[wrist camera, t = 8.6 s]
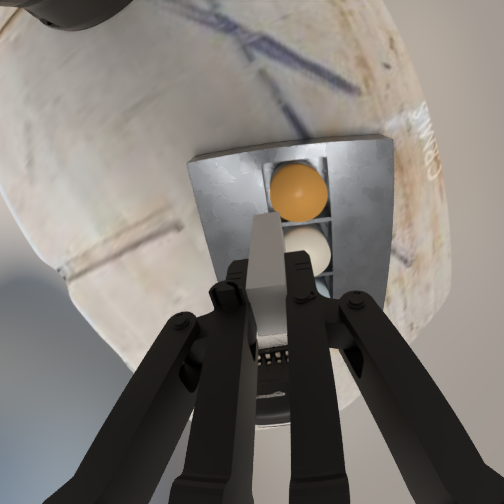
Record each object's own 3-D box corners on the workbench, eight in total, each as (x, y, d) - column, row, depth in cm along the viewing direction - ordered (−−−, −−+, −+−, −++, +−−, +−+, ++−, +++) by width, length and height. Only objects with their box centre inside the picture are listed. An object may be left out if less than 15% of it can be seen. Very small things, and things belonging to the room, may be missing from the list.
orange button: (266, 163, 25) (265, 171, 22) (319, 157, 24) (325, 164, 21) (273, 212, 27) (274, 225, 24) (323, 206, 26) (329, 218, 24)
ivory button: (275, 223, 28) (276, 237, 25) (324, 217, 27) (329, 231, 24) (281, 264, 30) (282, 281, 27) (326, 259, 29) (331, 275, 27)
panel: (194, 156, 26) (186, 163, 23) (380, 134, 23) (393, 139, 21) (235, 314, 36) (232, 331, 33) (375, 298, 33) (382, 314, 31)
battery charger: (295, 339, 38) (300, 412, 28) (300, 356, 39) (304, 424, 30) (246, 347, 39) (240, 418, 29) (254, 363, 41) (249, 429, 31)
